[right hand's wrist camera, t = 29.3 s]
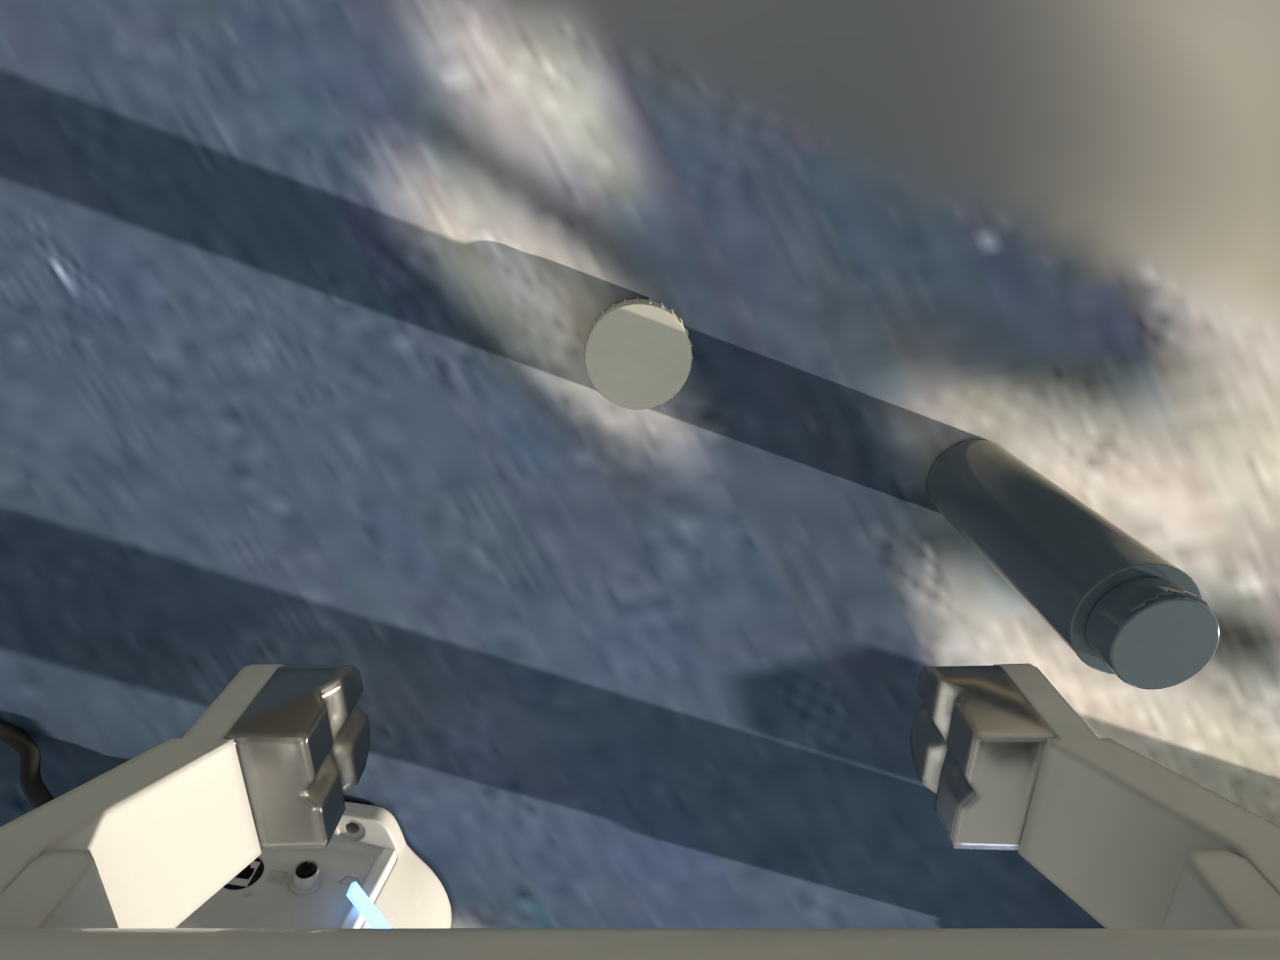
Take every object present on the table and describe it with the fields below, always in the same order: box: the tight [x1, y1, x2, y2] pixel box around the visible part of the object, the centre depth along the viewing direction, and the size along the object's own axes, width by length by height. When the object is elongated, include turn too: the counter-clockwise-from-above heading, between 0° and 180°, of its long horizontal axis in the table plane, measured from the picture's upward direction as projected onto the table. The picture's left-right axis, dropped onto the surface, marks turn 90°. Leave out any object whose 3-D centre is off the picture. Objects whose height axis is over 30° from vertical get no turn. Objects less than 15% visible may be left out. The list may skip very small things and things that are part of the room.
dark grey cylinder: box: [927, 439, 1220, 689], centre depth 31 cm, size 4×4×15 cm
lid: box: [584, 297, 693, 410], centre depth 34 cm, size 5×5×2 cm
